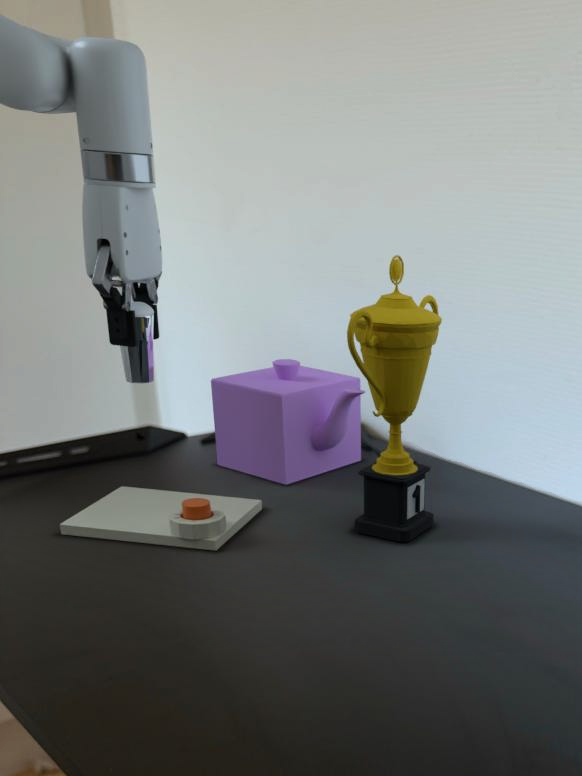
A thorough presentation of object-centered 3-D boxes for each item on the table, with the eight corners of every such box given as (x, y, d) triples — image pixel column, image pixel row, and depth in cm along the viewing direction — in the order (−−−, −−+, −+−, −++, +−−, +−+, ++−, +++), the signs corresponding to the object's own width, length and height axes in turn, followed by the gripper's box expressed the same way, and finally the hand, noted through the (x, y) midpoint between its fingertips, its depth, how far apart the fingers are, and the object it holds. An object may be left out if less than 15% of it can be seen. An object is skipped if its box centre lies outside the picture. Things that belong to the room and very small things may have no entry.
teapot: (326, 496, 118) (324, 385, 112) (193, 457, 130) (183, 355, 124) (400, 470, 130) (401, 368, 123) (271, 437, 141) (266, 342, 135)
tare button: (178, 520, 101) (176, 505, 100) (190, 511, 103) (188, 496, 103) (204, 523, 100) (203, 507, 100) (215, 514, 103) (214, 499, 102)
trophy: (390, 564, 100) (392, 265, 86) (314, 546, 103) (304, 256, 89) (466, 512, 115) (478, 253, 102) (397, 499, 119) (400, 246, 105)
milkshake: (108, 383, 110) (98, 294, 106) (133, 374, 115) (125, 289, 110) (142, 387, 110) (134, 298, 105) (166, 379, 114) (159, 293, 110)
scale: (58, 535, 102) (54, 510, 101) (122, 495, 115) (119, 471, 114) (214, 552, 100) (212, 526, 99) (262, 509, 113) (260, 485, 112)
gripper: (124, 169, 110) (138, 328, 118) (43, 167, 95) (67, 350, 103) (184, 174, 109) (195, 334, 118) (113, 173, 94) (131, 357, 103)
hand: (135, 340), depth 110 cm, fingers closed on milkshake, 4 cm apart
